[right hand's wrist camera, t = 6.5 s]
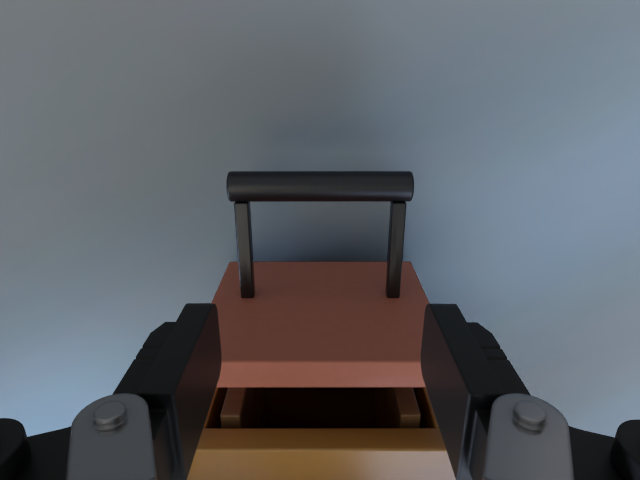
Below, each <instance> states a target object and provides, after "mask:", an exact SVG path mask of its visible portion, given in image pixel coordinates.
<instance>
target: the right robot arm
mask: <svg viewBox="0 0 640 480" xmlns="http://www.w3.org/2000/svg"><path fill="white" fill-rule="evenodd" d="M221 362H222V353H221V342H220V332H219V321H218V311H217V306H216V304H214V303H188V304H186V305H185V306H184V308H183V310H182V312H181V314H180V316H179V317H178V319H177V321H176V322H165V323H163V324H162V325H161V326H159V327H158V328H157V329H155V330H154V331H153V332H151V333H150V335H149V337H148V338H147V340H146V341H145V343H144V345H143V348H142V349H140V351H139V353H138V354H137V356H136V359H134V361H133V362H132V364H131V366H130V367H129V369H128V370H127V372H126V374H125V375H124V377H123V378H122V380H121V382H120V383H119V385H118V386H117V388H116V390H115V391H114V393H113V395H110V396H106V397H103V398H101V399H98V400H96V401H94V402H92V403H91V404H89V405H88V406H86V407H85V408H84V409H83V410H81V411H80V412H79V414H78V415H77V416H76V417H75V419H74V421H73V423H72V426H71V427H68V428H64V429H60V430H56V431H51V432H47V433H43V434H38V435H34V436H30V437H27V436H26V432H25V429H24V427H23V425H22V424H21V423H20V422H19V421H17V420H14V419H8V418H1V419H0V480H187V478H188V474H189V471H190V468H191V465H192V462H193V459H194V455H195V452H196V449H197V446H198V443H199V440H200V437H201V433H202V430H203V427H204V424H205V421H206V418H207V415H208V411H209V408H210V405H211V402H212V399H213V396H214V393H215V389H216V386H217V383H218V380H219V377H220V372H221ZM421 371H422V376H423V380H424V383H425V386H426V389H427V392H428V395H429V398H430V401H431V404H432V407H433V411H434V414H435V417H436V420H437V423H438V426H439V429H440V432H441V435H442V438H443V441H444V445H445V448H446V451H447V454H448V457H449V460H450V463H451V466H452V469H453V472H454V475H455V478H456V480H640V420H629V421H626V422H624V423H622V424H621V425H620V426H619V427H618V429H617V432H616V436H615V438H614V437H610V436H605V435H601V434H597V433H592V432H588V431H584V430H580V429H576V428H573V427H570V426H568V423H567V421H566V419H565V417H564V416H563V415H562V414H561V412H560V411H559V410H557V409H556V408H555V407H554V406H552V405H551V404H549V403H548V402H546V401H544V400H542V399H539V398H537V397H534V396H531V395H530V393H529V392H528V390H527V389H526V387H525V385H524V384H523V382H522V381H521V379H520V377H519V376H518V374H517V373H516V371H515V369H514V368H513V366H512V365H511V363H510V361H509V360H507V357H506V355H505V354H504V352H503V350H502V349H500V346H499V344H498V342H497V341H496V339H495V338H494V336H493V334H492V333H490V332H489V331H488V330H486V329H485V328H484V327H482V326H481V325H480V324H478V323H467V322H466V320H465V319H464V317H463V315H462V313H461V311H460V310H459V308H458V306H457V305H456V304H427V305H426V308H425V314H424V324H423V335H422V345H421Z"/></svg>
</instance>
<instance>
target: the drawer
mask: <svg viewBox="0 0 640 480" xmlns="http://www.w3.org/2000/svg"><path fill="white" fill-rule="evenodd" d="M413 192H414V178H413V174H412V172H410V171H250V172H229V173H228V176H227V195H228V199H229V201H232V202H235V203H234V209H235V222H236V236H237V250H238V262H230V263H229V265H228V267H227V269H226V272H225V274H224V276H223V278H222V281H221V283H220V285H219V287H218V289H217V292H216V294H215V296H214V298H213V301H212V303H214V304H216V306H217V311H218V321H219V332H220V342H221V353H222V362H221V372H220V377H219V380H218V383H217V386H216V387H228V390H227V393H226V397H225V400H224V404H223V408H222V411H221V415H220V418H221V428H419V427H420V417H421V415H420V411H419V408H418V404H417V401H416V397H415V394H414V390H413V387H426V386H425V383H424V380H423V376H422V371H421V345H422V335H423V324H424V314H425V308H426V305H427V304H429V301H428V299H427V297H426V295H425V293H424V290H423V288H422V286H421V284H420V281H419V279H418V277H417V275H416V273H415V270H414V268H413V266H412V264H411V262H402V258H403V244H404V230H405V216H406V202H405V201H411V200H412V197H413ZM255 201H391V204H390V221H389V238H388V255H387V262H253V246H252V229H251V212H250V202H255Z"/></svg>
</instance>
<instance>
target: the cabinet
mask: <svg viewBox="0 0 640 480" xmlns="http://www.w3.org/2000/svg"><path fill="white" fill-rule="evenodd" d="M227 390H228V387H216V389H215V393H214V396H213V399H212V402H211V405H210V408H209V411H208V415H207V418H206V421H205V424H204V427H203V430H202V433H201V437H200V440H199V443H198V446H197V449H196V452H195V455H194V459H193V462H192V465H191V468H190V471H189V474H188V478H187V480H456V478H455V475H454V472H453V469H452V466H451V463H450V460H449V457H448V454H447V451H446V448H445V445H444V441H443V438H442V435H441V432H440V429H439V426H438V423H437V420H436V417H435V414H434V411H433V407H432V404H431V401H430V398H429V395H428V392H427V389H426V387H413V390H414V394H415V397H416V401H417V404H418V408H419V411H420V415H421V417H420V427H419V428H221V418H220V415H221V411H222V408H223V404H224V400H225V397H226V393H227Z"/></svg>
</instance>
